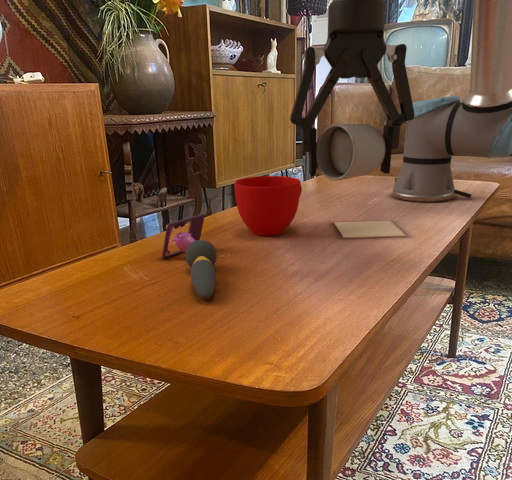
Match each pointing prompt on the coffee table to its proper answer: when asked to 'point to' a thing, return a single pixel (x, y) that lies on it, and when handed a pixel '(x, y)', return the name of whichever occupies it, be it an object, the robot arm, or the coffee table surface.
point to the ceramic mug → (349, 151)
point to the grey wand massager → (202, 267)
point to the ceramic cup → (267, 203)
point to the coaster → (368, 229)
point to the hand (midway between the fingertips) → (348, 173)
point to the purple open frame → (183, 234)
